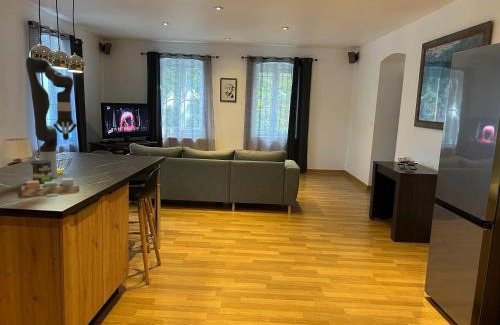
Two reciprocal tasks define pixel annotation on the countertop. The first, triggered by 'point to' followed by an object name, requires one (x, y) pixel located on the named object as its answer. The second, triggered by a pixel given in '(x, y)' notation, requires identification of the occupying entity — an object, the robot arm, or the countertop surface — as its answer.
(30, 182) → the terracotta button
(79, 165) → the countertop surface
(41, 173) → the coffee can
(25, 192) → the console
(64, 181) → the blue-grey button
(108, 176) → the countertop surface
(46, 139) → the robot arm
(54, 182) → the sage button
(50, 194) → the tile
